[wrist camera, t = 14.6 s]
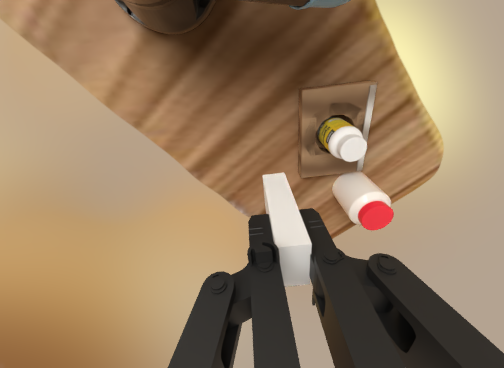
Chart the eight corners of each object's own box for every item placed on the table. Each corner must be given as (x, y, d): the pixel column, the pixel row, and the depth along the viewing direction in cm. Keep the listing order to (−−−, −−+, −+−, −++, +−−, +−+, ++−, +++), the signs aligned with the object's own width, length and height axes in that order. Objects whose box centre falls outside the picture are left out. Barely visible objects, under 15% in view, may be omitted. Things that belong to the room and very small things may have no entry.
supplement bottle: (317, 117, 39) (338, 133, 31) (347, 114, 39) (376, 130, 31) (315, 145, 42) (334, 167, 33) (342, 143, 42) (369, 164, 33)
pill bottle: (373, 187, 47) (406, 220, 38) (341, 206, 50) (366, 241, 40) (358, 163, 44) (391, 191, 35) (325, 184, 46) (347, 216, 37)
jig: (298, 88, 36) (302, 90, 34) (369, 80, 36) (378, 81, 34) (298, 172, 44) (301, 178, 42) (356, 165, 44) (362, 171, 42)
